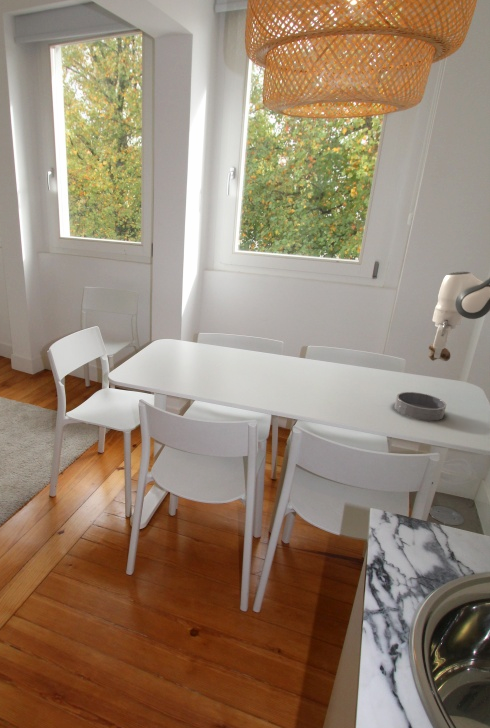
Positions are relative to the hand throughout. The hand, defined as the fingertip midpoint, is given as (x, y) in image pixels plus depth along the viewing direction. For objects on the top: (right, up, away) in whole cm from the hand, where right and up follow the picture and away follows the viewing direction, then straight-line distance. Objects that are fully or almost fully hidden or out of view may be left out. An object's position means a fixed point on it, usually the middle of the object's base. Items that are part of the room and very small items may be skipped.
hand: (437, 354), depth 172 cm
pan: (-11, -21, -7) cm, 24 cm away
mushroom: (0, -2, +1) cm, 2 cm away
